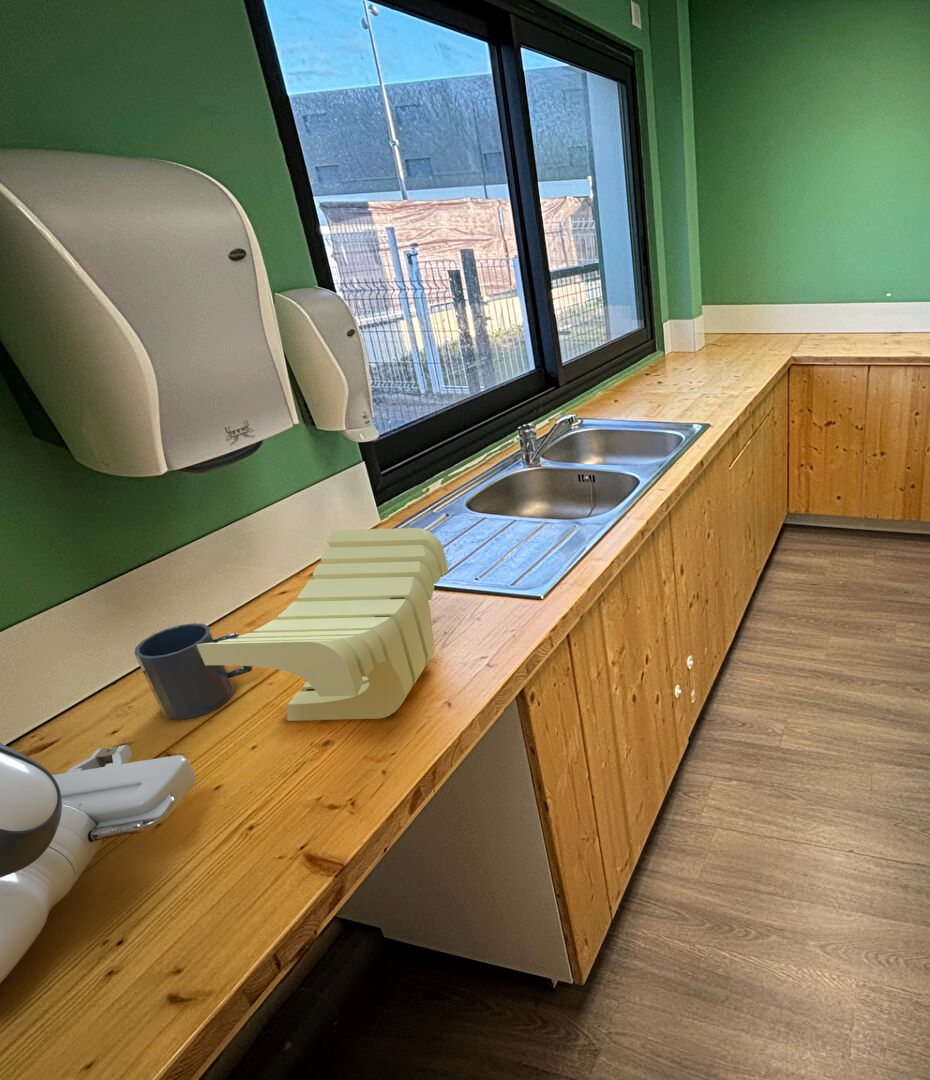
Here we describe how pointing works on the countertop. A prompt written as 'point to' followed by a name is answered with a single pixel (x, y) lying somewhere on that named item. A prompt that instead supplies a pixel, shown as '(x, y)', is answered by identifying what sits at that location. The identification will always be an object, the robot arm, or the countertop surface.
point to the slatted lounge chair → (351, 626)
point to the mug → (185, 671)
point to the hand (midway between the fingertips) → (116, 751)
